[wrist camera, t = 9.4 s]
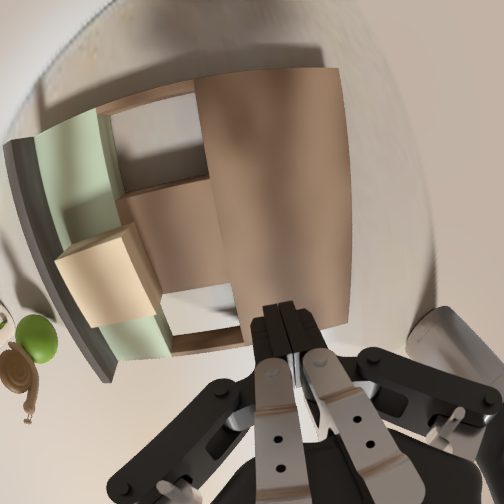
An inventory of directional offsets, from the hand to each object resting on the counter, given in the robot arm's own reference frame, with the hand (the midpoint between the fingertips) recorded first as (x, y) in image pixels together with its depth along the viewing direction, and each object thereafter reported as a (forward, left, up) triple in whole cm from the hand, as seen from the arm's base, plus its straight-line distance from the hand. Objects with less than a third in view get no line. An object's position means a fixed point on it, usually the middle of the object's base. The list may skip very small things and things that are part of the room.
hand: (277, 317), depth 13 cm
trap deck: (+4, +2, -10) cm, 11 cm away
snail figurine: (+13, +22, -10) cm, 28 cm away
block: (+8, +7, -8) cm, 13 cm away
